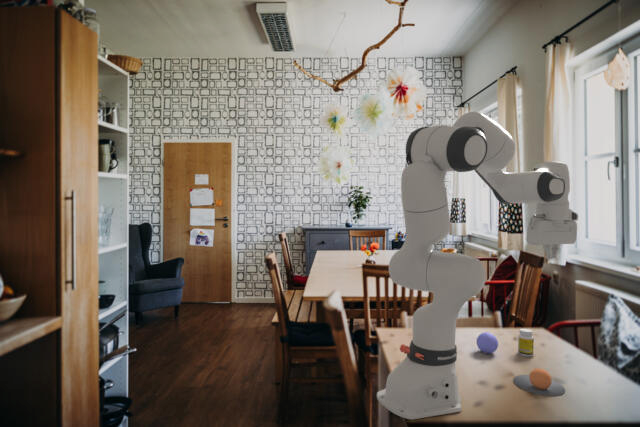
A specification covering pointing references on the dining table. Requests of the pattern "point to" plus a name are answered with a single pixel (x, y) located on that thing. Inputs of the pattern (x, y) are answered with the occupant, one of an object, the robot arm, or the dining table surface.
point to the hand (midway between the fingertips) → (551, 259)
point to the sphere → (487, 342)
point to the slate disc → (526, 385)
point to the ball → (540, 379)
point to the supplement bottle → (525, 342)
